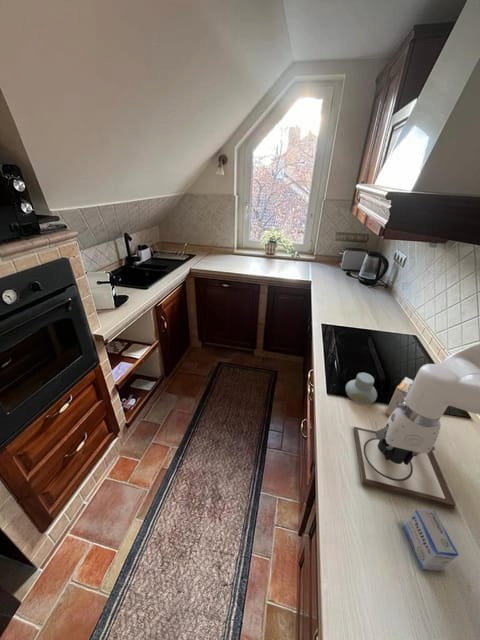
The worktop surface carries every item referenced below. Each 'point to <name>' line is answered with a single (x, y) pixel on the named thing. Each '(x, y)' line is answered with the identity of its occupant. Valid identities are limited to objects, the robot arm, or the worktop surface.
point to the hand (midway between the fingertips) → (395, 457)
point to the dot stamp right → (398, 455)
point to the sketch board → (401, 472)
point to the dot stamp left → (380, 445)
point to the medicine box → (429, 540)
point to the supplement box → (399, 395)
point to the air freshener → (362, 389)
